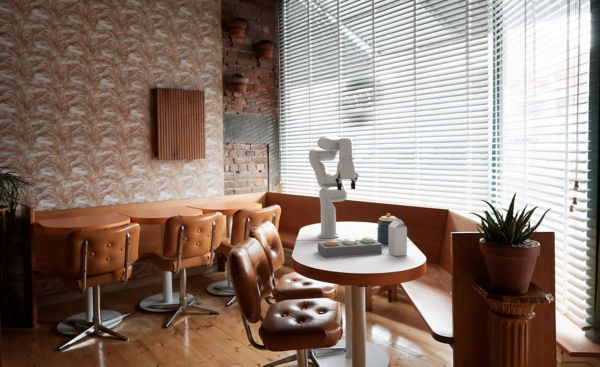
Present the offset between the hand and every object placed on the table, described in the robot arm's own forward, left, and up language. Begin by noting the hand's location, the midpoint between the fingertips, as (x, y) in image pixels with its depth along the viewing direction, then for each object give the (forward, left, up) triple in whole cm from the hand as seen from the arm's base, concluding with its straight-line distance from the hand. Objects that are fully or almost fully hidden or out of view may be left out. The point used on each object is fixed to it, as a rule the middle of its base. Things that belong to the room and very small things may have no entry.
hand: (346, 189), depth 239 cm
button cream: (+13, -3, -29) cm, 32 cm away
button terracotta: (+13, -14, -29) cm, 34 cm away
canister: (-2, +27, -33) cm, 43 cm away
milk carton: (+24, +20, -33) cm, 45 cm away
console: (+13, -3, -33) cm, 36 cm away
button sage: (+13, +7, -29) cm, 32 cm away
